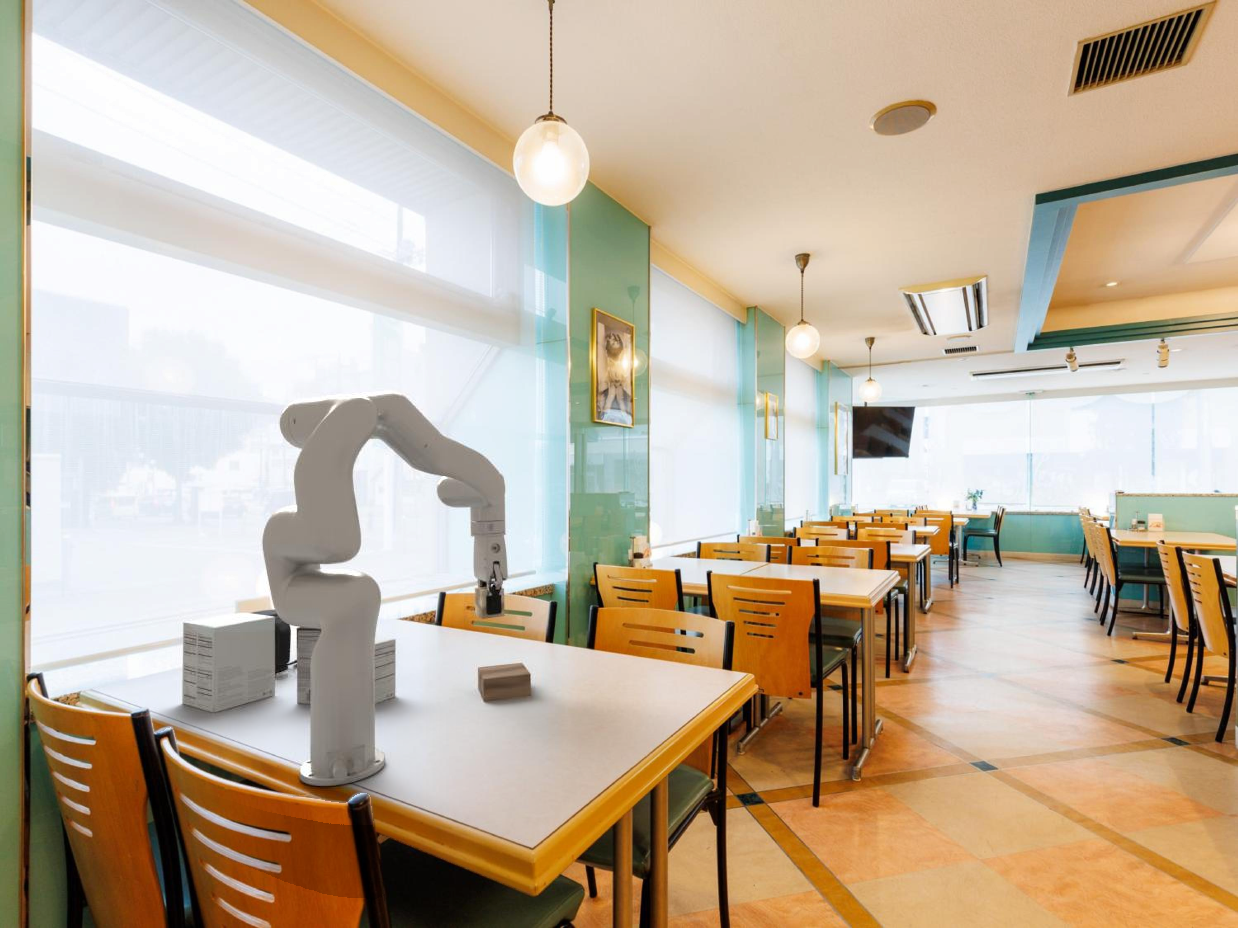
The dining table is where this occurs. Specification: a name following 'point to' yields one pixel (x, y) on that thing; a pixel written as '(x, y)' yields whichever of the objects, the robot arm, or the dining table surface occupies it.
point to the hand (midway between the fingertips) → (489, 611)
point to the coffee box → (305, 661)
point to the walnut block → (504, 682)
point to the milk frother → (280, 640)
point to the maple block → (481, 603)
